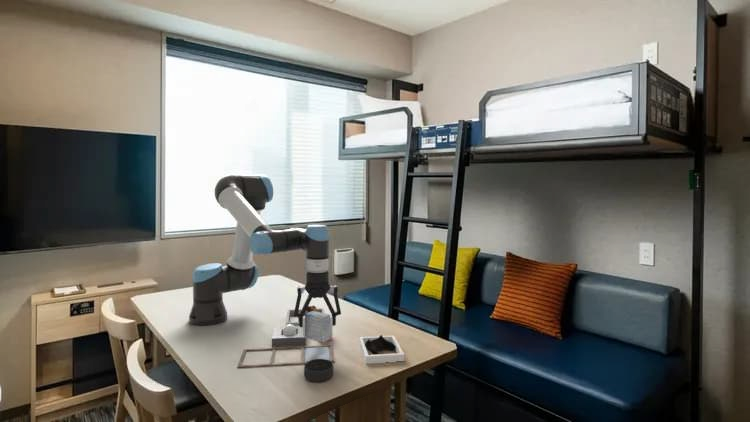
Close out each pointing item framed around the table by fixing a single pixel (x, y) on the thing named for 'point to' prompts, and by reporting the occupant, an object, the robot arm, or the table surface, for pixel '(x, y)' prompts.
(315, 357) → the wooden window frame
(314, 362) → the smart speaker
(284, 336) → the grey square holed block
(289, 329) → the dome
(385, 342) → the gaming controller
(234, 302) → the table surface
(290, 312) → the mug coaster rim
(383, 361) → the controller tray rim
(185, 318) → the table surface
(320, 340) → the medicine box
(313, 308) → the pottery mug
